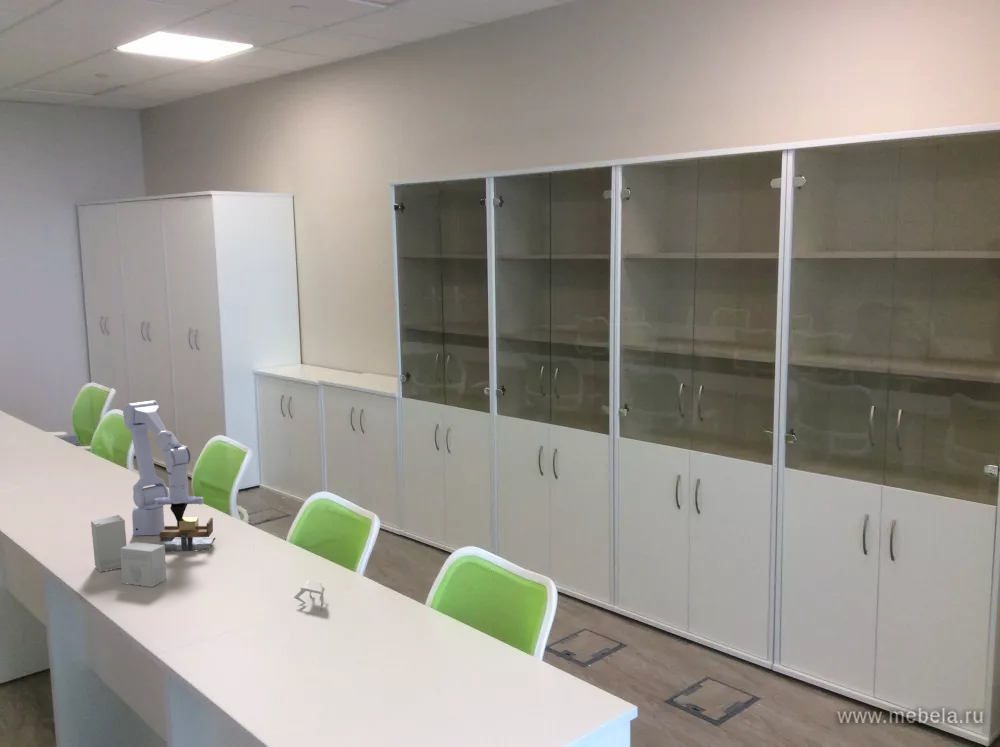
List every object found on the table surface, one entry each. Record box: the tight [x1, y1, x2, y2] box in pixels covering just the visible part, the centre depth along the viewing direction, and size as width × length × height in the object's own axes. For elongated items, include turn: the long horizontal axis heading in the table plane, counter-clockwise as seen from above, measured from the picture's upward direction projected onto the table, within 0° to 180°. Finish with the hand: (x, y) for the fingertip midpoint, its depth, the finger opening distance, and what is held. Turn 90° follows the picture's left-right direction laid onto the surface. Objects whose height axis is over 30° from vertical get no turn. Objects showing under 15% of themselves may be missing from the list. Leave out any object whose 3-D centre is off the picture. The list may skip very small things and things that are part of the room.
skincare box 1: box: [90, 514, 128, 573], centre depth 249 cm, size 8×6×15 cm
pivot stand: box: [162, 534, 213, 553], centre depth 270 cm, size 15×12×5 cm
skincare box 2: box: [120, 541, 167, 588], centre depth 239 cm, size 10×6×10 cm, turn 74°
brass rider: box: [179, 516, 200, 531], centre depth 269 cm, size 5×4×4 cm
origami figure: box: [293, 579, 325, 612], centre depth 225 cm, size 12×8×5 cm
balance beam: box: [159, 517, 214, 543], centre depth 269 cm, size 15×6×6 cm, turn 97°
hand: (180, 526), depth 269 cm, fingers closed, pressing on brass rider
